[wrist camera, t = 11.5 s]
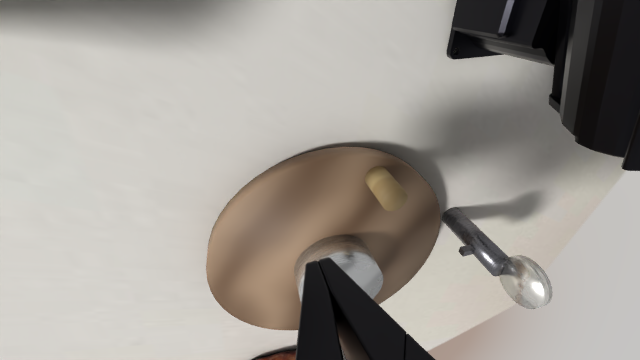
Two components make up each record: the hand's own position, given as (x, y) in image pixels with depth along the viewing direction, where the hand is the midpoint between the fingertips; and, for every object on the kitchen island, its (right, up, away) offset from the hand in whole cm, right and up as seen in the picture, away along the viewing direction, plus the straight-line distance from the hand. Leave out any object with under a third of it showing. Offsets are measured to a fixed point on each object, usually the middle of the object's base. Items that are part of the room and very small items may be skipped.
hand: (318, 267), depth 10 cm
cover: (+1, -4, +16) cm, 16 cm away
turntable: (+1, -3, +17) cm, 18 cm away
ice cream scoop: (+14, -1, +20) cm, 24 cm away
